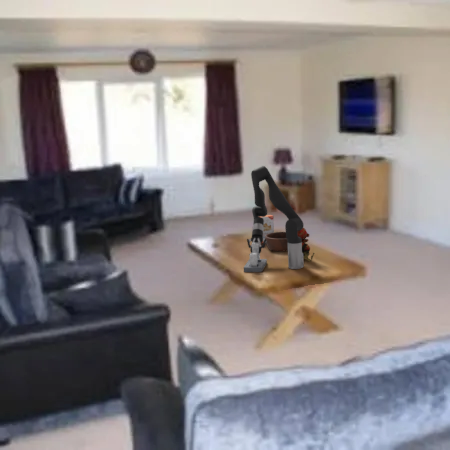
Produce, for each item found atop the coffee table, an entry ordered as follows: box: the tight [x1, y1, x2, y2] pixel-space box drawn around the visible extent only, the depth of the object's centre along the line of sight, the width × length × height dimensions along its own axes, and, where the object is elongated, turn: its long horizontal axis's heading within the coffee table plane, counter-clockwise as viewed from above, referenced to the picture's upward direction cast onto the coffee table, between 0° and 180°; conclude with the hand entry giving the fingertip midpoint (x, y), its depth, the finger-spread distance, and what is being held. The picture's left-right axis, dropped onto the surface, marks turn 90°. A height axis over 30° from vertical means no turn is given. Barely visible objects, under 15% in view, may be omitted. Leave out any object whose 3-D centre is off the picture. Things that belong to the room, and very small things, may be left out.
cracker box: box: [258, 214, 275, 244], centre depth 518 cm, size 14×6×21 cm, turn 105°
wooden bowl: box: [265, 231, 288, 252], centre depth 496 cm, size 25×25×10 cm
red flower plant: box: [298, 227, 315, 262], centre depth 459 cm, size 15×17×25 cm
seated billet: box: [249, 252, 258, 267], centre depth 442 cm, size 4×4×11 cm
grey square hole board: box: [243, 258, 268, 273], centre depth 448 cm, size 22×12×3 cm, turn 168°
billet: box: [251, 242, 261, 259], centre depth 451 cm, size 4×4×11 cm
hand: (255, 252), depth 450 cm, fingers closed on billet, 4 cm apart
